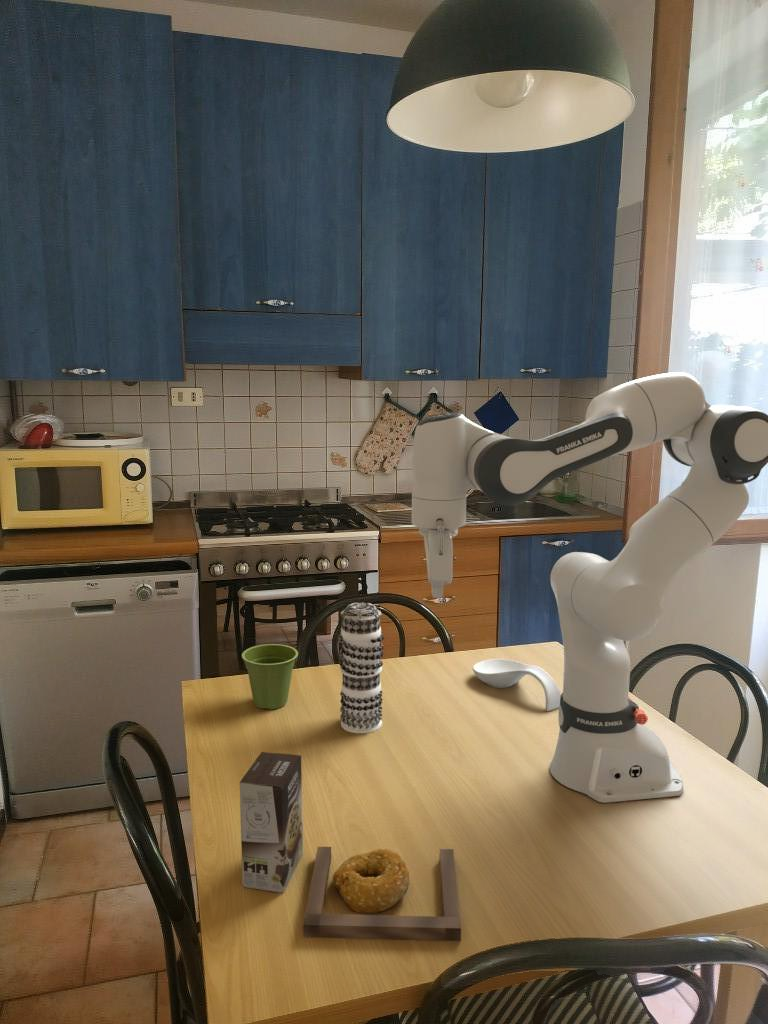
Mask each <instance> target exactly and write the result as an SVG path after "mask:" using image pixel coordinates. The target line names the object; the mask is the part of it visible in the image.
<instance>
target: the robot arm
mask: <svg viewBox="0 0 768 1024" xmlns="http://www.w3.org/2000/svg"><path fill="white" fill-rule="evenodd" d="M586 409H587V410H586V411H585V419H584V421H582V422H581V423H579V424H577V425H576V424H575V425H574V426H571V427H569V428H567V429H564V430H561V431H559V432H556V433H553V434H551V435H548V436H545V437H543V438H539V439H523V438H517V437H516V438H515V437H510V436H507V435H504V434H501V433H498V432H494V431H492V430H489V429H487V428H484V427H483V426H480V425H478V424H477V423H475V422H474V421H471V419H468V418H467V417H466V416H465V415H464V414H463V413H461V412H455V411H454V412H452V411H451V412H450V411H449V412H441V413H436V414H432V415H428V416H426V417H423V419H421V420H420V421H419V422H418V423H417V425H416V428H415V431H414V436H413V442H412V443H413V444H412V460H411V461H412V462H411V463H412V465H411V470H412V474H413V476H414V477H413V478H414V481H413V482H414V483H413V487H412V491H411V525H413V526H414V527H417V528H419V529H418V533H419V535H421V536H422V537H423V542H424V543H423V544H424V551H425V556H426V559H425V560H426V569H427V578H428V583H429V584H431V595H432V597H433V598H434V599H442V598H443V597H444V587H445V585H450V584H451V583H452V581H453V567H454V566H453V562H454V561H453V557H454V553H453V551H454V547H453V545H454V544H453V538H454V537H456V536H458V534H459V528H461V527H464V526H466V525H467V524H466V523H467V522H466V521H467V493H468V491H470V490H479V491H480V492H482V493H483V494H484V495H485V496H487V498H488V499H490V500H491V501H492V502H494V503H496V504H499V505H503V506H517V505H520V504H523V503H525V502H527V501H529V500H531V499H532V498H534V497H535V496H536V495H537V494H539V492H540V491H541V490H543V489H544V488H545V487H546V486H547V485H548V484H550V483H551V482H552V481H554V480H557V479H558V478H560V477H562V476H566V475H567V474H569V473H570V474H571V473H573V472H574V471H577V470H580V469H582V468H585V467H587V466H590V465H592V464H595V463H597V462H599V461H602V460H604V459H606V458H609V457H612V456H617V455H620V454H624V453H625V454H626V453H628V452H632V451H636V450H640V449H642V448H646V447H648V446H651V445H653V444H656V443H659V442H662V444H663V446H664V449H665V451H666V452H667V454H668V455H669V456H670V457H671V458H672V459H673V460H675V461H676V462H678V463H680V464H681V465H684V466H687V467H690V469H689V472H688V474H687V475H686V478H685V479H684V480H683V481H682V483H681V484H680V485H679V486H678V487H676V488H675V489H674V490H672V491H671V492H669V494H667V495H666V496H665V497H663V499H661V500H660V501H659V502H658V503H657V504H655V505H654V506H653V507H651V508H650V509H649V510H648V511H647V512H645V513H644V514H643V515H641V517H640V518H638V519H637V520H636V521H635V522H634V523H633V524H632V525H631V526H630V528H629V532H628V537H629V538H628V540H627V542H626V543H625V545H624V546H623V548H622V549H621V551H620V552H619V553H618V554H617V556H616V557H614V558H613V559H612V560H608V559H606V558H604V557H602V556H601V555H599V554H595V553H591V552H585V551H584V552H583V551H579V552H578V551H573V552H569V553H566V554H565V555H563V556H561V557H560V558H559V559H558V560H557V561H556V562H555V564H554V565H553V567H552V569H551V572H550V577H549V578H550V586H551V589H552V591H553V594H554V597H555V600H556V604H557V611H558V612H557V613H558V618H559V625H560V630H561V631H560V632H561V637H562V645H563V662H564V663H563V681H562V683H563V684H562V692H561V696H560V704H559V708H558V716H557V717H558V718H557V719H558V727H559V732H558V738H557V743H556V745H555V746H556V747H555V750H554V753H553V757H552V759H551V762H550V764H549V772H550V774H551V776H552V777H553V778H554V779H555V780H556V781H557V782H558V783H559V784H561V785H563V786H564V787H567V788H569V789H571V790H573V791H576V792H579V793H581V794H584V795H587V796H588V797H590V798H591V799H593V800H595V801H596V802H599V803H603V804H605V803H606V804H607V803H616V802H627V801H635V800H636V801H637V800H646V799H658V798H668V797H669V798H670V797H676V796H677V797H678V796H681V795H682V794H683V791H684V782H683V778H682V774H680V771H679V770H678V769H677V767H676V766H675V765H674V763H673V762H672V761H671V760H670V758H669V757H670V756H669V754H668V750H667V748H666V746H665V744H664V742H663V741H662V739H660V737H659V736H658V735H657V734H656V733H655V732H654V731H653V730H651V729H650V728H649V727H647V726H646V725H645V724H646V723H648V720H649V718H648V716H647V714H646V713H645V711H644V710H643V709H640V708H639V705H638V704H637V703H636V702H634V701H633V699H631V697H630V696H629V695H630V694H629V691H630V677H631V659H630V655H629V652H628V650H627V648H626V646H625V642H636V641H639V640H641V639H643V638H645V637H646V636H648V635H649V634H651V633H652V631H653V630H654V629H655V628H656V626H657V624H658V622H659V620H660V617H661V613H662V612H661V609H662V608H661V607H662V606H661V604H662V603H661V602H662V600H663V598H664V596H665V595H666V592H667V590H668V589H669V587H670V586H671V584H672V583H673V582H674V580H675V579H676V578H677V577H678V575H680V573H681V572H682V571H684V569H685V568H687V567H688V566H689V565H690V564H692V563H693V562H694V561H695V560H696V559H697V558H698V557H700V556H701V555H702V554H703V553H705V551H706V550H708V549H709V548H711V546H713V544H715V543H716V542H717V541H718V540H720V538H721V537H723V535H725V534H726V532H728V531H729V530H730V528H732V526H734V524H735V523H736V522H737V521H738V520H739V519H740V517H741V516H742V514H743V513H744V512H745V510H746V509H747V508H748V507H749V506H748V505H749V501H750V495H749V490H748V488H747V486H746V485H745V484H748V483H750V482H752V481H753V482H754V480H756V479H757V478H758V477H759V476H760V475H761V471H762V470H763V468H765V466H766V465H767V464H768V414H767V413H765V412H764V411H762V410H760V409H757V408H756V407H755V408H754V407H751V406H747V405H746V406H745V405H741V406H740V405H739V406H738V405H737V406H736V405H728V404H715V405H714V404H713V405H710V404H709V403H708V402H707V400H706V396H705V391H704V389H703V387H702V386H701V384H700V381H698V380H697V379H696V378H695V377H694V376H693V375H691V374H690V373H687V372H682V371H680V372H679V371H675V372H667V373H660V374H655V375H649V376H645V377H642V378H638V379H634V380H631V381H629V382H625V383H622V384H619V385H617V386H614V387H612V388H610V389H608V390H606V391H604V392H602V393H600V394H598V395H597V396H595V397H594V398H592V399H591V401H590V403H589V405H588V406H587V408H586ZM751 477H752V478H751Z"/></svg>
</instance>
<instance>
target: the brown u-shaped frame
mask: <svg viewBox="0 0 768 1024" xmlns="http://www.w3.org/2000/svg"><path fill="white" fill-rule="evenodd" d="M331 862H332V846H317V849H316V854H315V861H314V865H313V871H312V876H311V881H310V887H309V892H308V897H307V903H306V908H305V914H304V920H303V926H302V927H303V938H318V939H319V938H324V939H325V938H327V939H328V938H329V939H330V938H331V939H365V940H366V939H367V940H369V939H370V940H374V939H375V940H404V941H405V940H406V941H407V940H411V941H412V940H415V941H419V940H420V941H448V940H461V941H462V924H461V913H460V903H459V894H458V884H457V883H458V881H457V874H456V872H457V871H456V864H455V863H456V862H455V851H454V849H453V848H452V849H451V848H439V869H440V872H439V873H440V884H441V885H440V886H441V901H442V916H430V915H429V916H427V915H426V916H425V915H389V914H388V915H384V914H383V915H382V914H381V915H379V914H378V915H377V914H345V913H343V914H337V913H324V909H325V902H326V896H327V888H328V883H329V878H330V877H329V876H330V875H329V874H330V871H331Z"/></svg>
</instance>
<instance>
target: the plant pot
mask: <svg viewBox="0 0 768 1024" xmlns="http://www.w3.org/2000/svg"><path fill="white" fill-rule="evenodd" d="M298 655H299V652H298V650H297V649H296V648H294V647H292V646H290V645H286V644H279V643H278V644H277V643H269V644H268V643H267V644H259V645H254V646H250V647H249V648H247V649H245V650H244V651H243V652H242V653H241V658H242V659H243V661H244V662H245V663H244V664H245V668H246V670H247V673H248V674H247V675H248V679H249V685H250V690H251V691H250V692H251V697H252V701H253V705H254V706H255V707H256V708H258V709H268V710H275V709H279V708H282V707H284V706H285V705H286V704H287V703H288V701H289V694H290V688H291V687H290V686H291V682H292V674H293V668H294V666H295V662H296V659H297V657H298Z"/></svg>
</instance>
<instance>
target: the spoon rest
mask: <svg viewBox="0 0 768 1024" xmlns="http://www.w3.org/2000/svg"><path fill="white" fill-rule="evenodd" d="M472 671H473V673H474V675H475V676H476V677H477V678H478V679H479V680H480V681H482V683H485V684H487V685H488V686H491V687H495V688H498V689H503V688H509V687H511V686H513V685H515V684H516V683H518V682H519V681H520V680H522V678H523V677H525V676H526V675H529V676H532V677H533V678H534V679H536V680H537V681H538V682H539V683H540V685H541V686H542V688H543V691H544V697H545V711H546V712H551V711H553V710H556V709H559V704H560V696H561V694H562V692H561V690H560V687H559V686H558V685H557V683H556V681H555V680H554V678H553V677H552V675H550V674H549V673H548V672H546V670H544V669H543V668H542V667H540V666H538V665H533V664H526V663H524V662H520V661H519V660H518V661H517V660H513V659H507V658H491V659H485V660H482V661H479V662H476V663H475V664H473V666H472Z"/></svg>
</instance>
